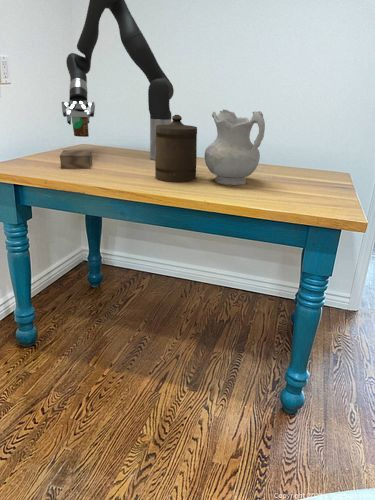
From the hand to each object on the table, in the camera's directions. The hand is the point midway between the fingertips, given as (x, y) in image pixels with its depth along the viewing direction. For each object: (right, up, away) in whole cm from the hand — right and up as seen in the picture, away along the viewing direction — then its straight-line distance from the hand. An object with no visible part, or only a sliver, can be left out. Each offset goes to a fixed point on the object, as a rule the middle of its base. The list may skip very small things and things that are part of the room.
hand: (78, 123), depth 174 cm
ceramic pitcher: (+62, -29, -25) cm, 73 cm away
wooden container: (+41, -27, -22) cm, 54 cm away
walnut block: (+2, -19, -8) cm, 21 cm away
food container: (0, -5, +2) cm, 5 cm away
